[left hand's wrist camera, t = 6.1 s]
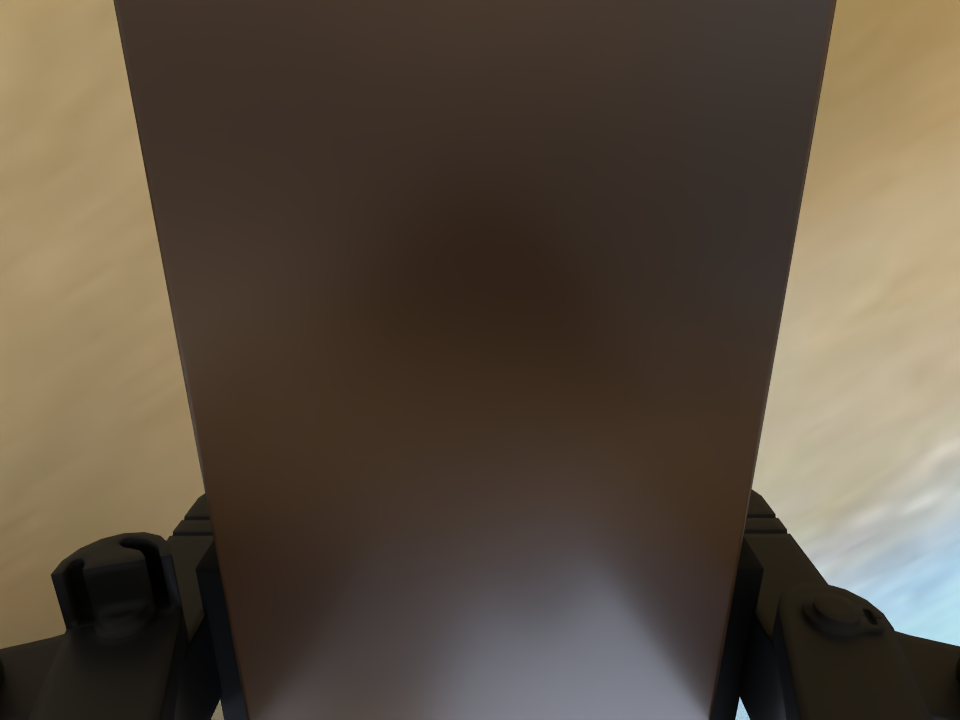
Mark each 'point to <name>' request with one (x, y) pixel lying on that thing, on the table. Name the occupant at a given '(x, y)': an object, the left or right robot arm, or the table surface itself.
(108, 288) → the table surface
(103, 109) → the table surface
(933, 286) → the table surface
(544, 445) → the bar
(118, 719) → the left robot arm
